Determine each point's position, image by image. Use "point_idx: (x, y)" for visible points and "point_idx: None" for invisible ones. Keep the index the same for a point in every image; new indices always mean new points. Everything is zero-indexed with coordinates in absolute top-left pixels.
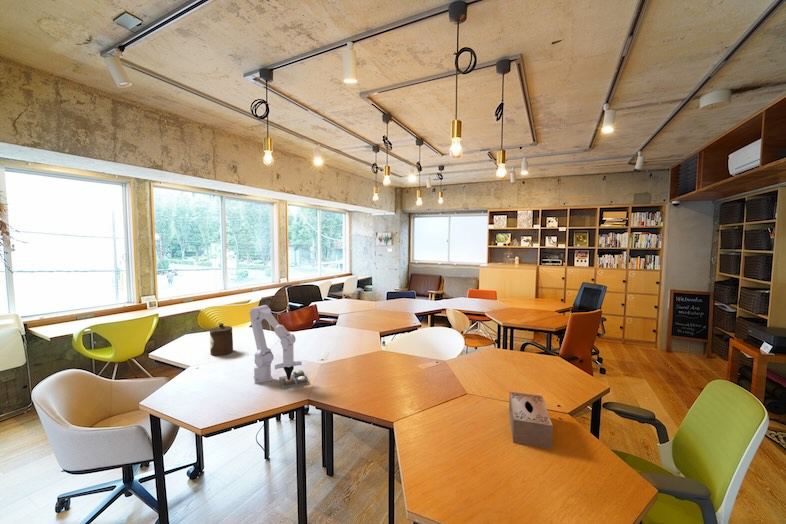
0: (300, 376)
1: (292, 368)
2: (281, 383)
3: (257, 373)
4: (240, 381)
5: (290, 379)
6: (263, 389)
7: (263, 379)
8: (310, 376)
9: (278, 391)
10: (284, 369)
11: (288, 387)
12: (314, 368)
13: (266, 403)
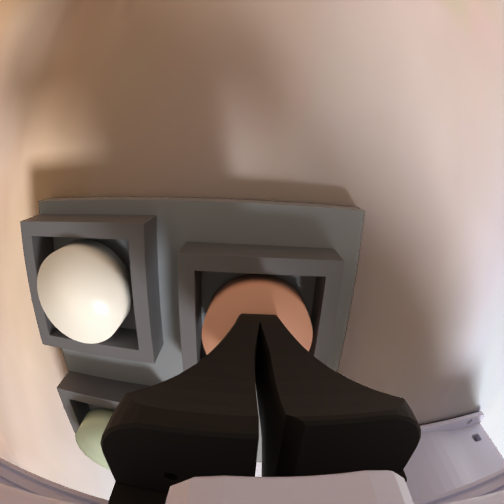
0: (87, 337)
1: (141, 417)
2: (343, 327)
3: (494, 470)
4: (500, 445)
5: (233, 312)
6: (493, 292)
7: (441, 439)
8: (35, 363)
9: (408, 162)
10: (413, 439)
11: (280, 201)
12: (36, 452)
13: (498, 5)
